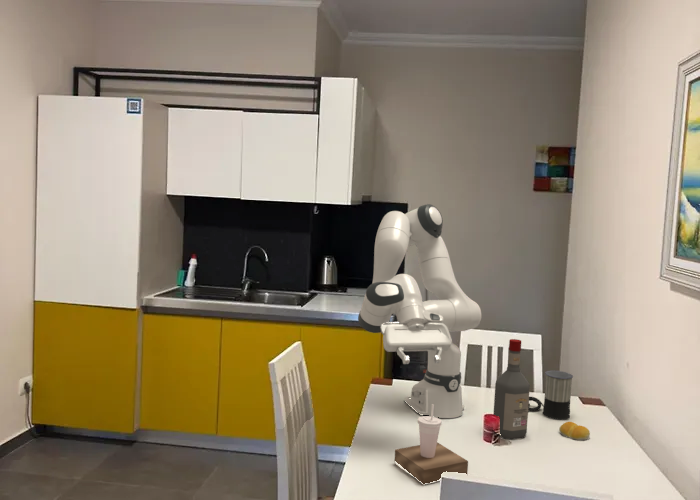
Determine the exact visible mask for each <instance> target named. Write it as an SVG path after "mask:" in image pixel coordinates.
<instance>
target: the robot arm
mask: <svg viewBox="0 0 700 500" xmlns="http://www.w3.org/2000/svg"><path fill="white" fill-rule="evenodd" d="M443 221H444V220H443V216H442V213H441V212H440V210H439V209H438V208H437V207H436V206H435V205H433V204H430V203H429V204H428V203H427V204H422V205H420V206H419V207H417V208H415V209H411V211H408V212H406V213H403V212H402V211H399V210H392V211H389V212H387V213H386V214H384V216H383V217H382V219H381V222H380V224H379V226H378V229H377V232H376V236H375V242H374V250H373V251H374V252H373V254H374V256H373V276H372V283H371V284H370V285H369V286H367V288H366V291H365V294H364V298H363V301H362V305H361V307H360V310H359V312H358V316H357V317H358V318H357V320H358V323H359V325H360V326H361V327H362V329H364V330H365V331H366V332H368V333H373V334H376V333H377V334H379V333H381V334H382V335H383V337H382V341H383V343H382V344H383V349H384V350H385V351H386V352H388V353H389V352H390V353H392V352H396V353H397V356H398V357H399V358H400V359H401V360H402V364H403V365H409V364H410V355H406V354H405V353H404V352H427V369H422V371H423V372H422V373H423V374H424V376H423V379H421V380H420V381H418V382H417V383H416V384H414V385H413V386H412V387H411V392H410V396H407V397H405V398H404V399H403V401H404V400H405V401H406V402H407V403H408V404H409V405H410V406H412V407H413V408H414V409H415V410H416V411H417V412H418V413H420V414H423V415H429V416H431V408H432V404H434V410H433V416H434V417H436V418H438V417H439V419H453V418H458V417H459V418H460V417H461V416H462V415H463V411H464V410H465V406H464V405H463V391H462V390H463V389H462V385H461V383H462V373H461V361H462V360H461V359H462V358H461V357H462V352H461V349H460V348H459V346H458V345H456V344H455V343H453V340H452V335H451V333H450V332H465V331H470V330H472V329H475V328H477V327H479V325H480V323H481V320H482V310H481V306H480V305H479V304H478V303H477V302H476V301H474V300H472V298H470V297H468V295H467V294H466V293H465V292H464V291H463V289H462V288H461V287H460V285H459V283H458V282H457V279H456V276H455V274H454V269H453V266H452V262H451V258H450V254H449V251H448V248H447V246H446V243H445V241H444V239H443V237H442V236H441V235H442V233H443V232H442V229H443V225H444V223H443ZM414 245H415V246H416V248H417V250H416V251H417V253H416V254H417V259H418V266H419V272H420V274H421V275H420V276H421V281H422V284H423V287H424V289H426V291H428V292H430V293H431V294H433V295H434V296H435V297H436V298H437V299H428V300H425V301H423V296H422V293H421V289H420V288H419V287H420V286H419V284H418V282H417V280H416V279H415V277H413V276H412V275H411V274H407V273H399V274H397V273H398V270H399V269H400V267H401V264H402V262H403V260H404V258H405V256H406V253H407V250H408V248H409V247H412V246H414ZM392 315H395V316H396V320H397V321H391V317H392ZM409 398H411V399H409ZM423 415H422V416H423Z"/></svg>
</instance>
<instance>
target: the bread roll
mask: <svg viewBox="0 0 700 500" xmlns="http://www.w3.org/2000/svg"><path fill="white" fill-rule="evenodd" d="M558 431H559V433H560V434H561V435H562V437H563V436H564V437H565V438H570V439H571V440H575V441H585V440H586V441H587V440H589V439H590V435H591V432H590V430H589V428H588V427H586V426H583V425H581V424H580V425H578V423H576V422H574V421H566V422H563V424H561V425H560V426H559V430H558Z"/></svg>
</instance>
